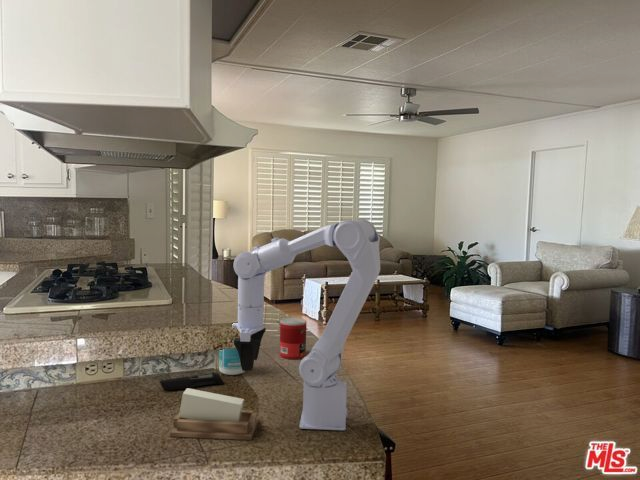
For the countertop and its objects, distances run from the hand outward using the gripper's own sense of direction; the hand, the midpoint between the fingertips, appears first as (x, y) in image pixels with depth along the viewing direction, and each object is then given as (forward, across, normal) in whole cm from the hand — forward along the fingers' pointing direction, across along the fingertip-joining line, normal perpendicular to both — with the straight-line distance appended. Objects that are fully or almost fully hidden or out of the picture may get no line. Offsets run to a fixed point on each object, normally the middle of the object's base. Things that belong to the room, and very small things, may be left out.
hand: (249, 364), depth 113 cm
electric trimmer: (+10, -12, -16) cm, 23 cm away
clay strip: (+8, +11, -6) cm, 15 cm away
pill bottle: (+10, -24, -8) cm, 28 cm away
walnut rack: (+10, +11, -5) cm, 16 cm away
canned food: (+10, -40, +7) cm, 42 cm away
